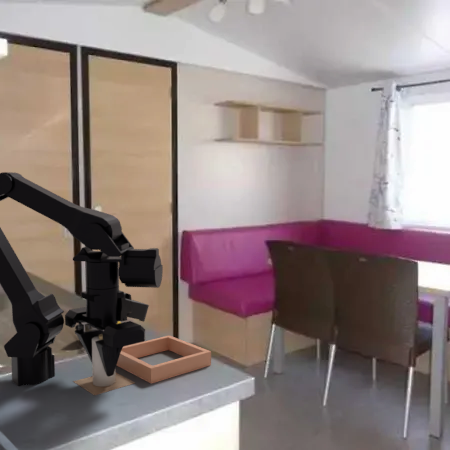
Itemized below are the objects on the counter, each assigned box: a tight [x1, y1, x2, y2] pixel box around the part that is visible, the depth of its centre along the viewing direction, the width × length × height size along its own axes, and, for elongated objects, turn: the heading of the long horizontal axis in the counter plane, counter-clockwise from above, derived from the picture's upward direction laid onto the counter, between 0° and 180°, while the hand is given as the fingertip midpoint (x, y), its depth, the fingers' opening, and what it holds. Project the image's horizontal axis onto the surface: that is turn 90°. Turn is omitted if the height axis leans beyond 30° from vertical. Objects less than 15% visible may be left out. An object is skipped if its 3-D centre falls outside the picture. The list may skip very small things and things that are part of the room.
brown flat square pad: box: [72, 372, 136, 397], centre depth 93 cm, size 8×8×1 cm
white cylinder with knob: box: [91, 334, 117, 387], centre depth 92 cm, size 4×4×9 cm
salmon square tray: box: [116, 335, 212, 384], centre depth 102 cm, size 14×14×4 cm
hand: (104, 372), depth 92 cm, fingers closed on white cylinder with knob, 4 cm apart
